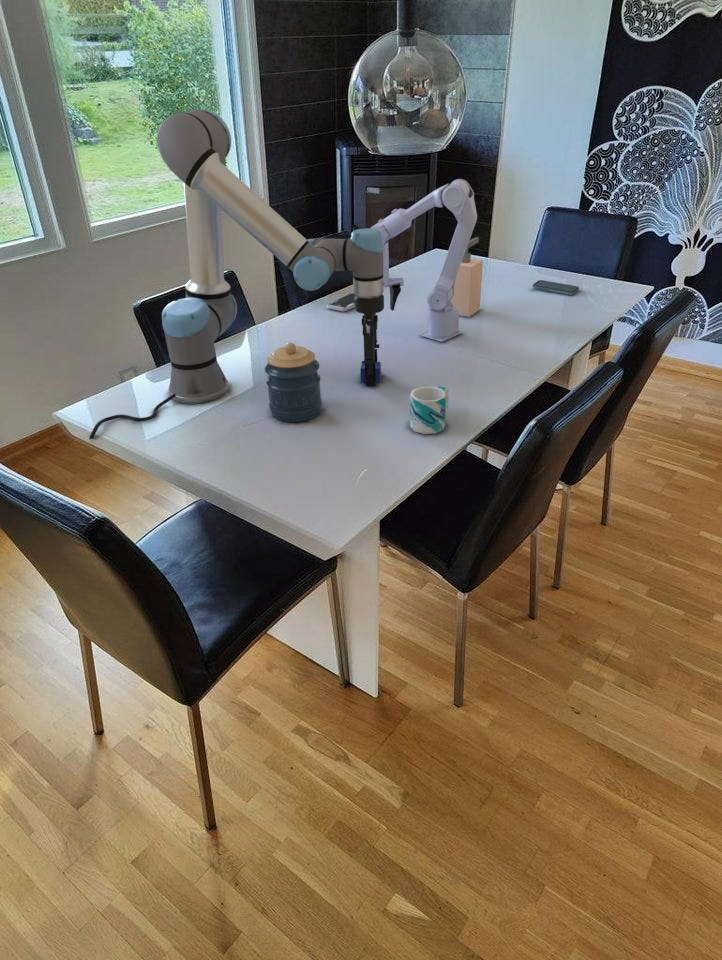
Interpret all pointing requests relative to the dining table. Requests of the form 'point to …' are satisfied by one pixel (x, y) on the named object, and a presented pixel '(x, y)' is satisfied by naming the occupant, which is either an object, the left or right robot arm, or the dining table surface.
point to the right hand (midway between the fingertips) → (380, 310)
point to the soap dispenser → (468, 284)
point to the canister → (293, 384)
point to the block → (378, 372)
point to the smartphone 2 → (555, 287)
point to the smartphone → (343, 303)
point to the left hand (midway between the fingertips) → (371, 378)
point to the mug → (428, 409)
